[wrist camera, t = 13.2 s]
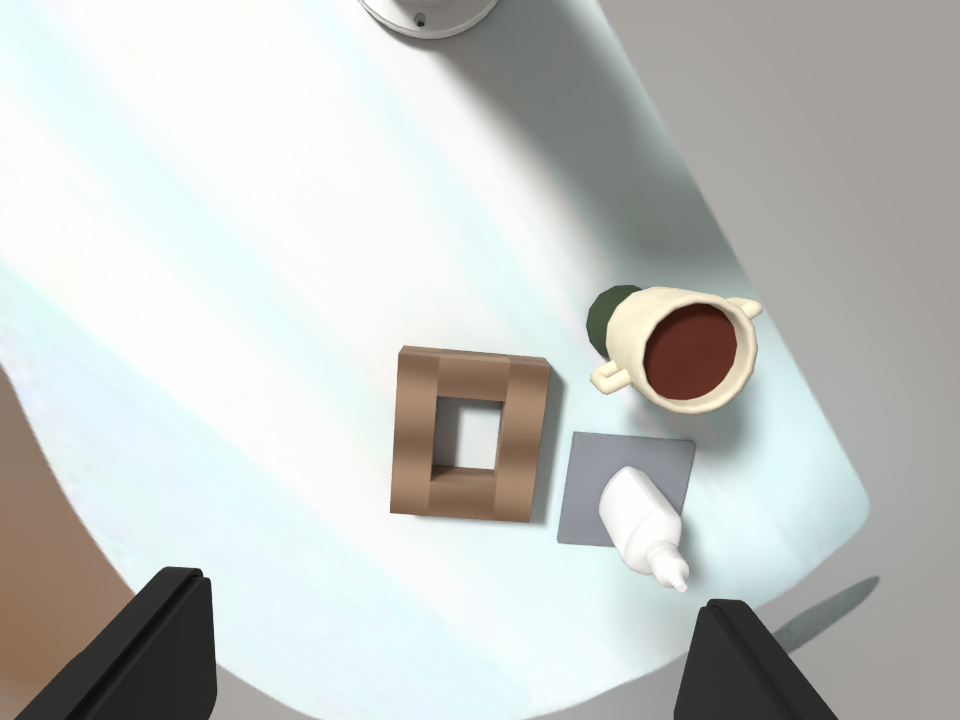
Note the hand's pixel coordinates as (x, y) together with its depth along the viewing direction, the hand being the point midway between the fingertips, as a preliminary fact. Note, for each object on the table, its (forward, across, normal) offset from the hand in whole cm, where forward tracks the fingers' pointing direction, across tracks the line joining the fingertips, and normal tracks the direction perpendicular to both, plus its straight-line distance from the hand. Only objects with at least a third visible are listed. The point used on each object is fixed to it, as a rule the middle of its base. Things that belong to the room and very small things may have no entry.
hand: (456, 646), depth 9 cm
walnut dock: (+30, -1, +8) cm, 31 cm away
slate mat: (+30, -16, +13) cm, 37 cm away
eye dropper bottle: (+30, -16, +13) cm, 36 cm away
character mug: (+30, -13, -3) cm, 33 cm away
